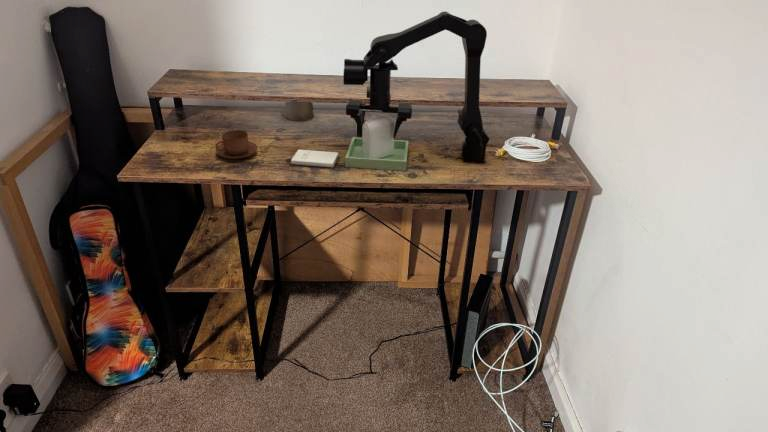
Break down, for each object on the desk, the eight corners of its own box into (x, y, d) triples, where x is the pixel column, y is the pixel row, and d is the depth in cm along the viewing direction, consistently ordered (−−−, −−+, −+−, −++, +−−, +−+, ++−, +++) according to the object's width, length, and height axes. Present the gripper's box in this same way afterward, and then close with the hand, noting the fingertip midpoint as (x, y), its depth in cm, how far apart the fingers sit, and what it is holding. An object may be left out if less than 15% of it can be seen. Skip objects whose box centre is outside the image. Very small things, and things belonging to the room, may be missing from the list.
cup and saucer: (237, 166, 147) (234, 146, 144) (207, 156, 152) (204, 136, 149) (266, 152, 156) (264, 133, 153) (237, 143, 161) (234, 124, 158)
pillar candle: (318, 114, 186) (316, 73, 178) (304, 123, 178) (302, 80, 170) (294, 110, 189) (292, 69, 181) (280, 118, 181) (277, 76, 173)
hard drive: (333, 168, 148) (291, 164, 149) (339, 156, 155) (298, 153, 156) (333, 163, 147) (290, 159, 148) (339, 151, 154) (298, 148, 155)
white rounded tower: (367, 162, 151) (368, 122, 144) (359, 157, 154) (360, 118, 147) (395, 155, 156) (397, 116, 150) (387, 150, 159) (389, 112, 153)
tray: (408, 149, 161) (408, 140, 160) (405, 170, 148) (406, 161, 146) (352, 145, 162) (352, 137, 161) (345, 166, 149) (345, 157, 147)
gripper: (414, 78, 150) (411, 129, 158) (350, 75, 151) (350, 125, 159) (412, 90, 141) (409, 143, 149) (345, 86, 142) (345, 139, 150)
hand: (378, 137), depth 152 cm, fingers open, 9 cm apart
